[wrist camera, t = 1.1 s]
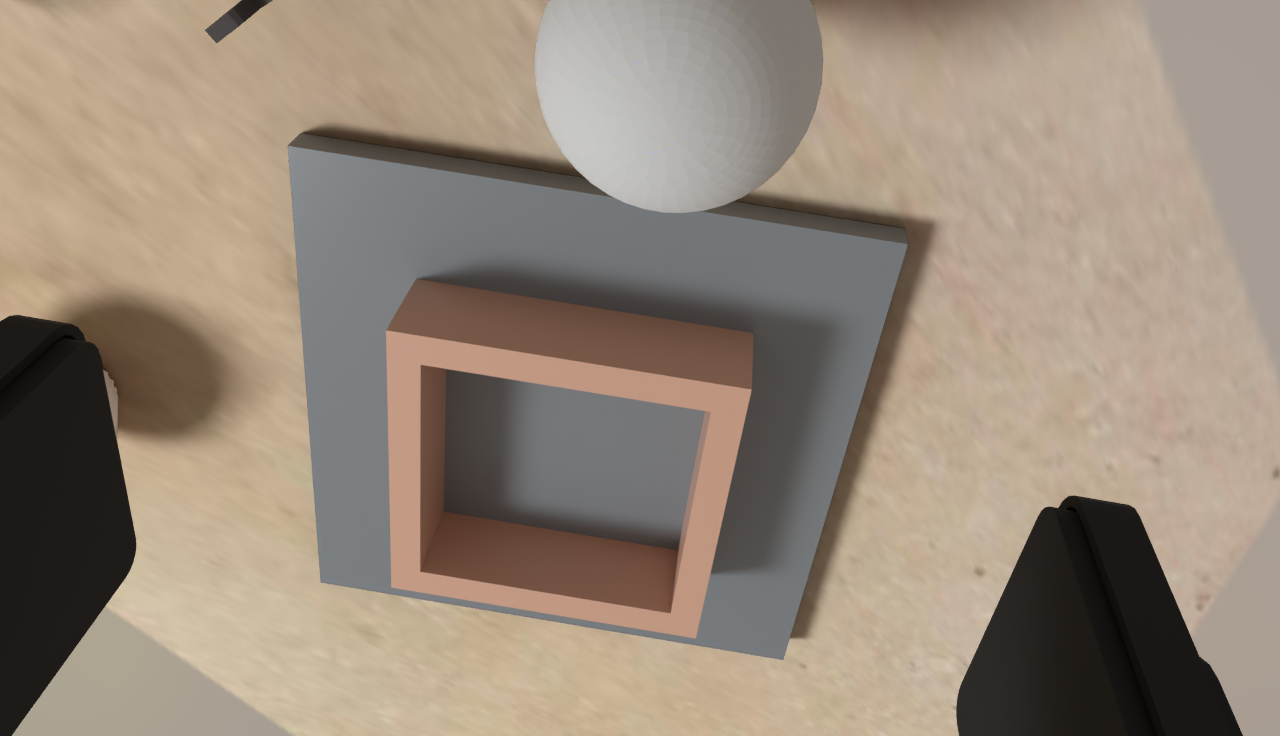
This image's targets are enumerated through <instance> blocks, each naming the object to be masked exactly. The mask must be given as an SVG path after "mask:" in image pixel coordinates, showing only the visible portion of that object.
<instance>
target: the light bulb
mask: <svg viewBox="0 0 1280 736" xmlns="http://www.w3.org/2000/svg"><path fill="white" fill-rule="evenodd" d="M822 71H823V51H822V39H821V33H820V29H819V25H818V22H817V18H816V14H815V10H814V8H813V6H812V3H811V1H810V0H549V1H548V4H547V6H546V9H545V11H544V13H543V16H542V20H541V24H540V28H539V32H538V37H537V41H536V54H535V76H536V88H537V93H538V97H539V101H540V105H541V109H542V113H543V116H544V118H545V121H546V123H547V125H548V128H549V130H550V133H551V134H552V136H553V138H554V139H555V141H556V143H557V145H558V146H559V148H560V150H561V151H562V153H563V154H564V155H565V157H566V158H567V159H568V160H569V162H570V163H571V164H572V165H573V166H574V168H575V169H576V170H577V171H578V172H580V173H581V174H582V175H583V176H584V177H585V178H586V179H587V180H588V181H589V182H590V183H592V184H593V185H595V186H596V187H598V188H599V189H601V190H602V191H604V192H605V193H606V194H608V195H610V196H612V197H614V198H616V199H618V200H620V201H622V202H624V203H627V204H630V205H633V206H636V207H639V208H642V209H646V210H652V211H658V212H664V213H688V212H697V211H704V210H708V209H712V208H716V207H719V206H723V205H726V204H728V203H730V202H733V201H735V200H737V199H739V198H742V197H744V196H745V195H747V194H748V193H750V192H751V191H753V190H755V189H756V188H758V187H759V186H761V185H762V184H764V183H765V182H766V181H767V180H768V179H769V178H771V177H772V176H773V175H774V174H775V173H776V172H778V171H779V169H780V168H781V167H782V166H783V165H784V164H785V162H786V161H787V160H788V159H789V158H790V157H791V155H792V154H793V153H794V152H795V150H796V148H797V147H798V145H799V143H800V142H801V140H802V139H803V137H804V135H805V134H806V132H807V129H808V127H809V125H810V122H811V120H812V117H813V115H814V113H815V110H816V106H817V102H818V98H819V93H820V89H821V85H822Z"/></svg>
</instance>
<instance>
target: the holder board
mask: <svg viewBox="0 0 1280 736" xmlns="http://www.w3.org/2000/svg"><path fill="white" fill-rule="evenodd" d="M288 155H289V168H290V182H291V195H292V208H293V221H294V235H295V248H296V261H297V274H298V288H299V301H300V314H301V328H302V341H303V354H304V367H305V381H306V394H307V407H308V420H309V434H310V447H311V460H312V474H313V487H314V500H315V513H316V527H317V540H318V553H319V566H320V580H321V583H327V584H333V585H339V586H345V587H351V588H357V589H363V590H369V591H375V592H380V593H386V594H392V595H398V596H404V597H410V598H416V599H422V600H428V601H434V602H440V603H446V604H452V605H458V606H464V607H470V608H476V609H482V610H488V611H494V612H500V613H506V614H512V615H518V616H524V617H530V618H536V619H542V620H548V621H554V622H560V623H566V624H572V625H578V626H584V627H590V628H596V629H602V630H608V631H614V632H619V633H625V634H631V635H637V636H643V637H649V638H655V639H661V640H667V641H673V642H679V643H685V644H691V645H697V646H703V647H709V648H715V649H721V650H727V651H733V652H739V653H745V654H751V655H757V656H763V657H769V658H775V659H781V660H783V659H784V656H785V652H786V649H787V646H788V642H789V639H790V636H791V632H792V629H793V626H794V622H795V619H796V616H797V612H798V609H799V606H800V602H801V599H802V596H803V592H804V589H805V586H806V582H807V579H808V576H809V572H810V569H811V566H812V562H813V559H814V556H815V552H816V549H817V546H818V542H819V539H820V536H821V532H822V529H823V526H824V522H825V519H826V516H827V512H828V509H829V506H830V502H831V499H832V496H833V492H834V489H835V486H836V482H837V479H838V476H839V472H840V469H841V466H842V462H843V459H844V456H845V452H846V449H847V446H848V443H849V439H850V436H851V433H852V429H853V426H854V423H855V419H856V416H857V413H858V409H859V406H860V403H861V399H862V396H863V393H864V389H865V386H866V383H867V379H868V376H869V373H870V369H871V366H872V363H873V359H874V356H875V353H876V349H877V346H878V343H879V339H880V336H881V333H882V329H883V326H884V323H885V319H886V316H887V313H888V309H889V306H890V303H891V299H892V296H893V293H894V289H895V286H896V283H897V279H898V276H899V273H900V269H901V266H902V263H903V259H904V256H905V253H906V249H907V246H908V242H907V237H906V233H905V228H898V227H892V226H886V225H879V224H873V223H867V222H860V221H854V220H848V219H841V218H835V217H829V216H822V215H816V214H810V213H804V212H797V211H791V210H785V209H778V208H772V207H766V206H759V205H753V204H747V203H740V202H734V201H733V202H730V203H728V204H726V205H723V206H719V207H716V208H712V209H708V210H704V211H697V212H688V213H664V212H658V211H652V210H646V209H642V208H639V207H636V206H633V205H630V204H627V203H624V202H622V201H620V200H618V199H616V198H614V197H612V196H610V195H608V194H606V193H605V192H604V191H602V190H601V189H599V188H598V187H596V186H595V185H593V184H592V183H590V182H589V181H588V180H587V179H586V178H582V177H576V176H570V175H564V174H557V173H551V172H545V171H538V170H532V169H526V168H519V167H513V166H507V165H500V164H494V163H488V162H481V161H475V160H469V159H462V158H456V157H450V156H444V155H437V154H431V153H425V152H418V151H412V150H406V149H399V148H393V147H387V146H380V145H374V144H368V143H361V142H355V141H349V140H342V139H336V138H330V137H324V136H317V135H311V134H305V133H300V134H299V135H298V136H297V137H296V138H295V139H294V140H293V141H292V142H291V143H290V144H289V145H288Z"/></svg>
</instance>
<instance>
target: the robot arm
mask: <svg viewBox="0 0 1280 736" xmlns="http://www.w3.org/2000/svg"><path fill="white" fill-rule="evenodd" d="M135 552H136V537H135V532H134V527H133V521H132V516H131V511H130V506H129V501H128V496H127V490H126V485H125V480H124V475H123V470H122V465H121V460H120V454H119V449H118V444H117V439H116V434H115V429H114V424H113V418H112V413H111V408H110V403H109V398H108V393H107V387H106V382H105V377H104V372H103V367H102V362H101V357H100V354H99V351H98V349H97V347H96V346H95V345H94V344H92V343H90V342H86V340H85V338H84V335H83V333H82V332H81V330H80V329H79V328H78V327H76V326H74V325H72V324H67V323H62V322H56V321H50V320H44V319H38V318H32V317H26V316H21V315H14V316H9V317H7V318H5V319H4V320H2V321H0V736H12V734H13V733H14V732H15V730H16V729H17V727H18V726H19V724H20V723H21V722H22V720H23V719H24V718H25V716H26V715H27V713H28V712H29V711H30V709H31V708H32V707H33V705H34V704H35V702H36V701H37V700H38V698H39V697H40V696H41V694H42V693H43V691H44V690H45V689H46V687H47V686H48V684H49V683H50V682H51V680H52V679H53V678H54V676H55V675H56V673H57V672H58V671H59V669H60V668H61V666H62V665H63V664H64V662H65V661H66V660H67V658H68V657H69V655H70V654H71V653H72V651H73V650H74V648H75V647H76V646H77V644H78V643H79V641H80V640H81V638H82V637H83V636H84V635H85V633H86V632H87V630H88V629H89V628H90V626H91V625H92V623H93V622H94V621H95V619H96V618H97V616H98V615H99V614H100V612H101V611H102V610H103V608H104V607H105V606H106V604H107V603H108V601H109V600H110V599H111V597H112V596H113V595H114V593H115V592H116V590H117V589H118V588H119V586H120V585H121V583H122V582H123V581H124V579H125V578H126V576H127V575H128V573H129V571H130V569H131V566H132V564H133V561H134V557H135ZM957 726H958V731H959V736H1243V735H1242V733H1241V730H1240V728H1239V726H1238V723H1237V721H1236V719H1235V716H1234V714H1233V712H1232V710H1231V707H1230V705H1229V703H1228V700H1227V698H1226V696H1225V694H1224V691H1223V689H1222V686H1221V684H1220V682H1219V680H1218V678H1217V676H1216V675H1215V673H1214V671H1213V670H1212V668H1211V666H1210V665H1209V664H1208V663H1207V662H1205V661H1204V660H1203V659H1202V658H1201V657H1199V655H1198V652H1197V650H1196V648H1195V646H1194V643H1193V641H1192V638H1191V636H1190V634H1189V631H1188V629H1187V627H1186V624H1185V622H1184V620H1183V617H1182V615H1181V612H1180V610H1179V608H1178V605H1177V603H1176V601H1175V598H1174V596H1173V594H1172V591H1171V589H1170V587H1169V584H1168V582H1167V580H1166V577H1165V575H1164V572H1163V570H1162V568H1161V565H1160V563H1159V561H1158V558H1157V556H1156V554H1155V551H1154V549H1153V547H1152V544H1151V542H1150V540H1149V537H1148V535H1147V532H1146V530H1145V528H1144V525H1143V523H1142V521H1141V518H1140V516H1139V514H1138V513H1137V511H1136V510H1135V508H1133V507H1131V506H1130V505H1126V504H1120V503H1114V502H1108V501H1102V500H1097V499H1091V498H1085V497H1079V496H1068V497H1067V498H1066V499H1065V500H1064V501H1062V503H1061V505H1060V506H1059V508H1054V507H1045V508H1044V509H1043V510H1042V511H1041V513H1040V514H1039V516H1038V518H1037V520H1036V522H1035V524H1034V527H1033V529H1032V531H1031V533H1030V535H1029V537H1028V540H1027V542H1026V544H1025V546H1024V548H1023V551H1022V553H1021V555H1020V557H1019V559H1018V561H1017V564H1016V566H1015V568H1014V570H1013V572H1012V575H1011V577H1010V579H1009V581H1008V583H1007V585H1006V588H1005V590H1004V592H1003V594H1002V596H1001V598H1000V601H999V603H998V605H997V607H996V609H995V612H994V614H993V616H992V618H991V620H990V622H989V625H988V627H987V629H986V631H985V633H984V636H983V638H982V640H981V642H980V644H979V646H978V649H977V651H976V653H975V655H974V657H973V659H972V662H971V664H970V666H969V668H968V670H967V673H966V675H965V677H964V679H963V681H962V684H961V686H960V689H959V694H958V699H957Z"/></svg>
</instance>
